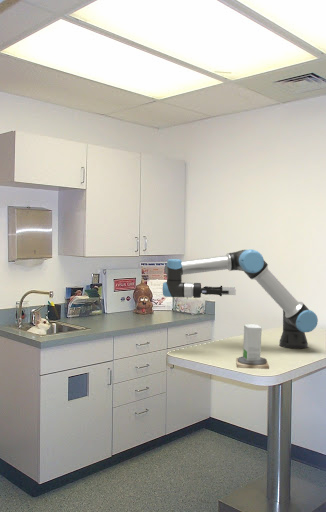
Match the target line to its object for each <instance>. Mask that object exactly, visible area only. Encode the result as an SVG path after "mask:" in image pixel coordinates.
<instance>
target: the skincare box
mask: <svg viewBox="0 0 326 512" xmlns="http://www.w3.org/2000/svg"><path fill="white" fill-rule="evenodd" d="M242 346H243V348H242V350H243V351H242V357H244V358H245V359H246V360H247V361H260V357H261V351H262V349H261V347H262V327H261V326H260V325H258V324H254V323H252V324H250V323H249V324H243V345H242Z"/></svg>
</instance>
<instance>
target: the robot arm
mask: <svg viewBox="0 0 326 512" xmlns="http://www.w3.org/2000/svg"><path fill="white" fill-rule="evenodd" d="M268 266H269V264H268V263H267V262H266V260H265V259H264V257H263V254H261V253H260V252H259V251H258V250H256V249H254V248H253V249H241V250H238V251H233V252H228V253H226V254H225V255H219V256H217V255H216V256H211V257H202V258H201V257H200V258H194V259H186V260H182V259H178V258H174V259H173V258H169V259H167V263H166V264H165V266H164V268H163V269H164V273H165V274H166V281H165V282H163V284H162V295H163V297H168V298H186V299H189V298H195V299H197V298H199V299H201V297H202V295H205V296H206V295H212V296H214V295H216V296H219V297H223V296H236V291H237V290H236V287H232V286H230V287H229V286H223V285H220V286H207V285H206V286H203V287H202V283H201V282H182V281H183V280H182V278H183V276H185V275H191V274H201V273H207V272H216V271H223V270H228V271H229V272H231V271H241V272H244V274H245V275H247V277H248V278H249V279H250V280H255V281H256V282H257V283H258V284H259V285H260V287H261V288H262V289H263V290H264V291H265V292H266V293H267V295H268V296H270V297H271V299H272V300H273V301H274V302H275V303H276V304H277V305H278V307H280V308H281V309H282V333H281V336H280V339H279V346H280V347H283V348H285V349H286V348H287V349H307V348H308V347H309V346H308V345H309V342H308V339H307V335H306V333H310V332H313V331H314V330H315V329H316V327H317V325H318V322H319V319H318V315H317V314H316V312H314V311H313V310H311V309H309V308H308V307H307V306H306V305H305V303H304V302H302V301H298V300H297V299H296V298H295V296H294V295H292V293H291V292H290V291H289V290H288V289H287V288H286V287H285V286H284V285H283V284H282V282H281V281H280V280H279V279H278V278H277V277H276V276H275V275H274V274H273V272H271V271H270V270H269V267H268Z"/></svg>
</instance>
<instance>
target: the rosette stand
mask: <svg viewBox="0 0 326 512" xmlns="http://www.w3.org/2000/svg"><path fill="white" fill-rule="evenodd" d="M235 362H236V368H238V369H239V368H243V369H264V370H266V369H267V370H269V369H270V365H269V362H268V360H267V359H266V358H264V357H261V356H260V361H247V360H246V359H245V358H244V357H243V356H239V357H236V361H235Z"/></svg>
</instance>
